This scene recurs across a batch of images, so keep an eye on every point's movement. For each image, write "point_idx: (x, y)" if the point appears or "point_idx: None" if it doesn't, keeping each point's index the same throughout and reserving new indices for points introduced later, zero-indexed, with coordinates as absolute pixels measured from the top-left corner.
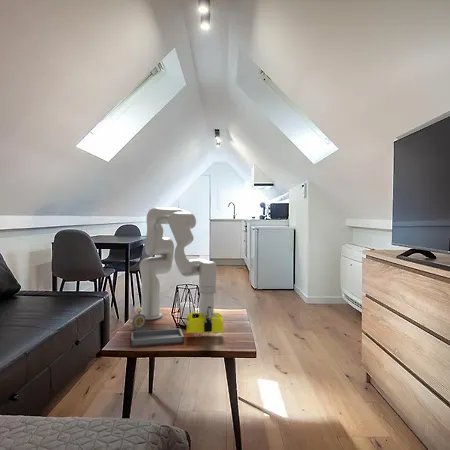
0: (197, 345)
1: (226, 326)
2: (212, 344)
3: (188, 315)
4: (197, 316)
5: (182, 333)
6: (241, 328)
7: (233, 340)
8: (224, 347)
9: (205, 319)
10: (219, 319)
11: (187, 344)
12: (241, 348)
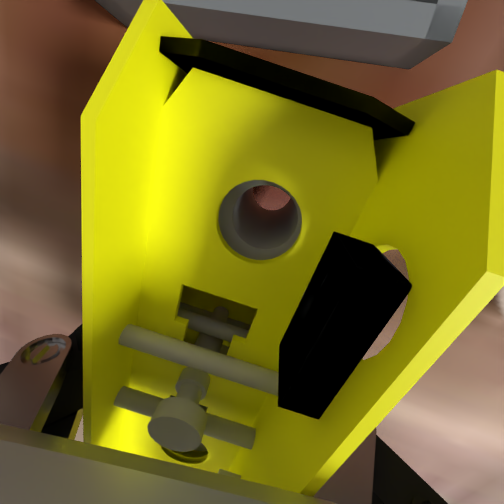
0: (49, 143)
1: None
2: (65, 254)
3: (475, 133)
4: (289, 345)
5: (216, 8)
6: None
7: None
8: (13, 295)
9: (11, 381)
10: None
11: (77, 55)
12: (3, 357)
